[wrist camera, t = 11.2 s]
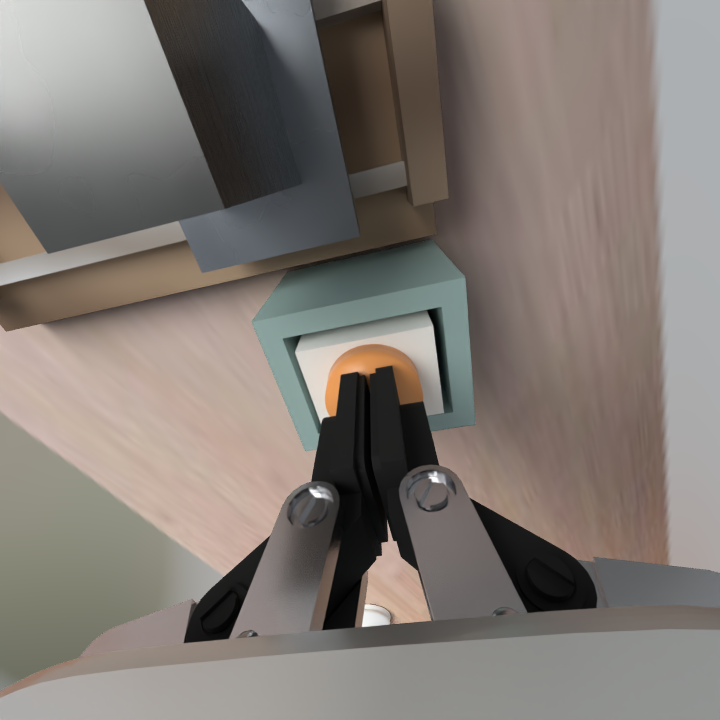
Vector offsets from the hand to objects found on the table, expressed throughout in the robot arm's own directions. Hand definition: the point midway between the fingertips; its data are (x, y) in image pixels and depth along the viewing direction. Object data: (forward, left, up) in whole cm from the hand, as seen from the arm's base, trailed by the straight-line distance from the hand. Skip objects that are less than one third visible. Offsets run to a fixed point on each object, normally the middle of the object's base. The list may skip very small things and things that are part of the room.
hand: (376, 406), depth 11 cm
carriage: (-9, -2, -5) cm, 10 cm away
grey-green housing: (0, 0, -7) cm, 7 cm away
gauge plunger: (0, 0, -6) cm, 6 cm away
